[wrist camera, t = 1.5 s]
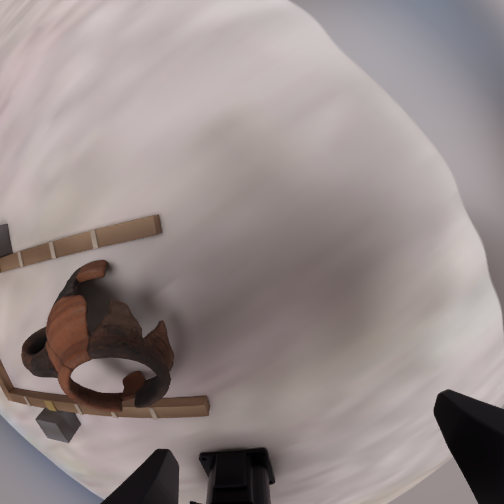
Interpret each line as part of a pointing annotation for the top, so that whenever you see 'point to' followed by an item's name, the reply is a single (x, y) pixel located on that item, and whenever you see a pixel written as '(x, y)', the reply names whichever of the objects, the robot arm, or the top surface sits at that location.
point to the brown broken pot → (98, 347)
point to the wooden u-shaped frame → (61, 406)
